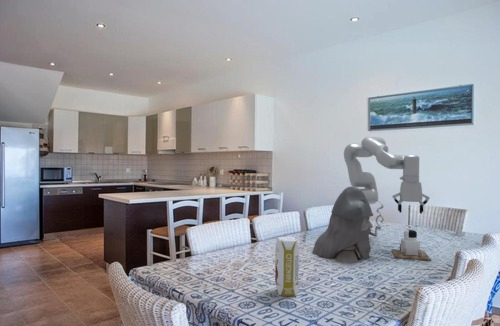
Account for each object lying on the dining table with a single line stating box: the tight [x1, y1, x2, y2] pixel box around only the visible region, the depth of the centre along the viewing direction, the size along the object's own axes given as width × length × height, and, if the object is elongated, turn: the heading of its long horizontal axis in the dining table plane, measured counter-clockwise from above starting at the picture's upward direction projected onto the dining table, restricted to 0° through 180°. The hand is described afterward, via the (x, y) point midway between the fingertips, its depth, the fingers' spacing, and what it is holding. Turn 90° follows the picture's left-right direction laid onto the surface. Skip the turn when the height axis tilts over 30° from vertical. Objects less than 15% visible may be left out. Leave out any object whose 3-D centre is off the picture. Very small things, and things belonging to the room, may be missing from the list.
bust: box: [311, 185, 385, 265], centre depth 174 cm, size 34×34×35 cm
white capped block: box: [400, 229, 421, 256], centre depth 173 cm, size 7×7×12 cm
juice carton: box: [274, 236, 300, 297], centre depth 120 cm, size 8×9×19 cm
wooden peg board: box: [391, 243, 432, 262], centre depth 173 cm, size 16×16×4 cm
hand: (410, 212), depth 174 cm, fingers open, 9 cm apart
